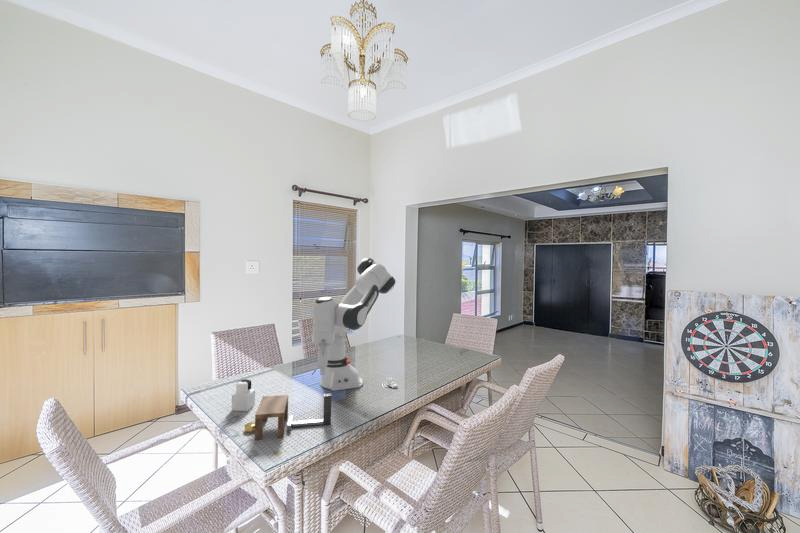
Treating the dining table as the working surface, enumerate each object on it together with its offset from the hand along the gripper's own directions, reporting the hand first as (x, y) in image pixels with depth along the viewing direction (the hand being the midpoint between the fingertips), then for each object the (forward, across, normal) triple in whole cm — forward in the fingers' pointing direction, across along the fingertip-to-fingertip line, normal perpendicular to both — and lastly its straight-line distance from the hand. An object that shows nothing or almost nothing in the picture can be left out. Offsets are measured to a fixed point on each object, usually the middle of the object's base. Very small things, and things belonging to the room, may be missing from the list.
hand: (322, 370), depth 137 cm
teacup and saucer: (+22, +32, -34) cm, 51 cm away
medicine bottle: (+22, +18, +34) cm, 44 cm away
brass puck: (+22, -2, +27) cm, 34 cm away
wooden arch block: (+22, -2, +19) cm, 29 cm away
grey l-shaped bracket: (+22, -2, +5) cm, 22 cm away
